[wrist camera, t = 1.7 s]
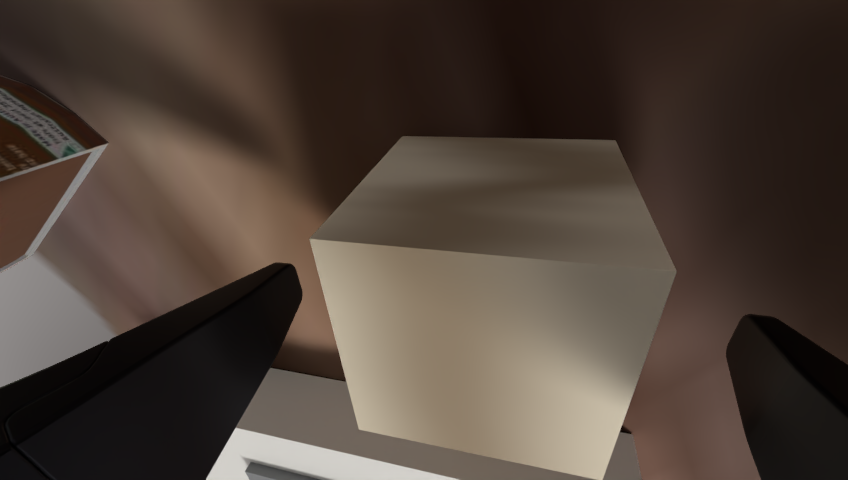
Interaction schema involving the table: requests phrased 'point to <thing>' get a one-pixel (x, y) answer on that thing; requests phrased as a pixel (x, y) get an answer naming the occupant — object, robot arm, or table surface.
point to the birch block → (496, 296)
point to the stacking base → (358, 443)
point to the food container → (38, 166)
